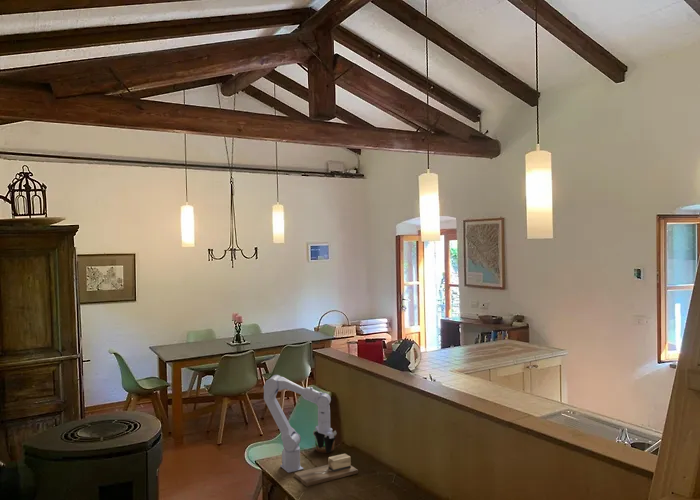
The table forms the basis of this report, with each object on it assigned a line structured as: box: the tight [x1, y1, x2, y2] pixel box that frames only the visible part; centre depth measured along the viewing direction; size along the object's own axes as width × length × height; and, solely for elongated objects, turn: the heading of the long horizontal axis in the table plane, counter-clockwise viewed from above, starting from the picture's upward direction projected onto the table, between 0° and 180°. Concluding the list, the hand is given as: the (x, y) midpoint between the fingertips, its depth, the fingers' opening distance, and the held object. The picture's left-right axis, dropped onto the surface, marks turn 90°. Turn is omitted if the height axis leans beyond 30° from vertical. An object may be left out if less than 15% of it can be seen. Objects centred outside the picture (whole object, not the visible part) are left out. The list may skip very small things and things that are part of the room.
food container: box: [312, 429, 338, 454], centre depth 277 cm, size 12×6×10 cm, turn 81°
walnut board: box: [293, 464, 359, 487], centre depth 247 cm, size 13×26×2 cm, turn 121°
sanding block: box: [327, 453, 352, 472], centre depth 251 cm, size 5×9×5 cm, turn 121°
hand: (324, 449), depth 253 cm, fingers open, 7 cm apart
